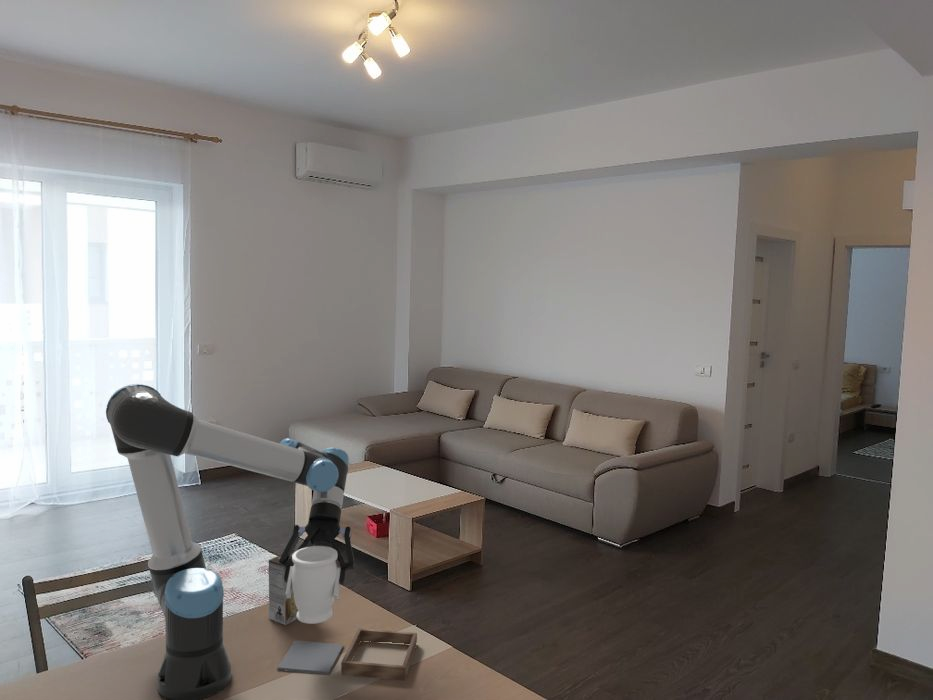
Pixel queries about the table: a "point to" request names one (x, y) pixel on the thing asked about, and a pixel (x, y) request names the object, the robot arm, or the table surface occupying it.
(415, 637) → the collar
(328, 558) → the jar
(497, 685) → the table surface
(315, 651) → the pad
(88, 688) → the table surface
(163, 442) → the robot arm
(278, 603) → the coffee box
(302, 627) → the table surface
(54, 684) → the table surface
